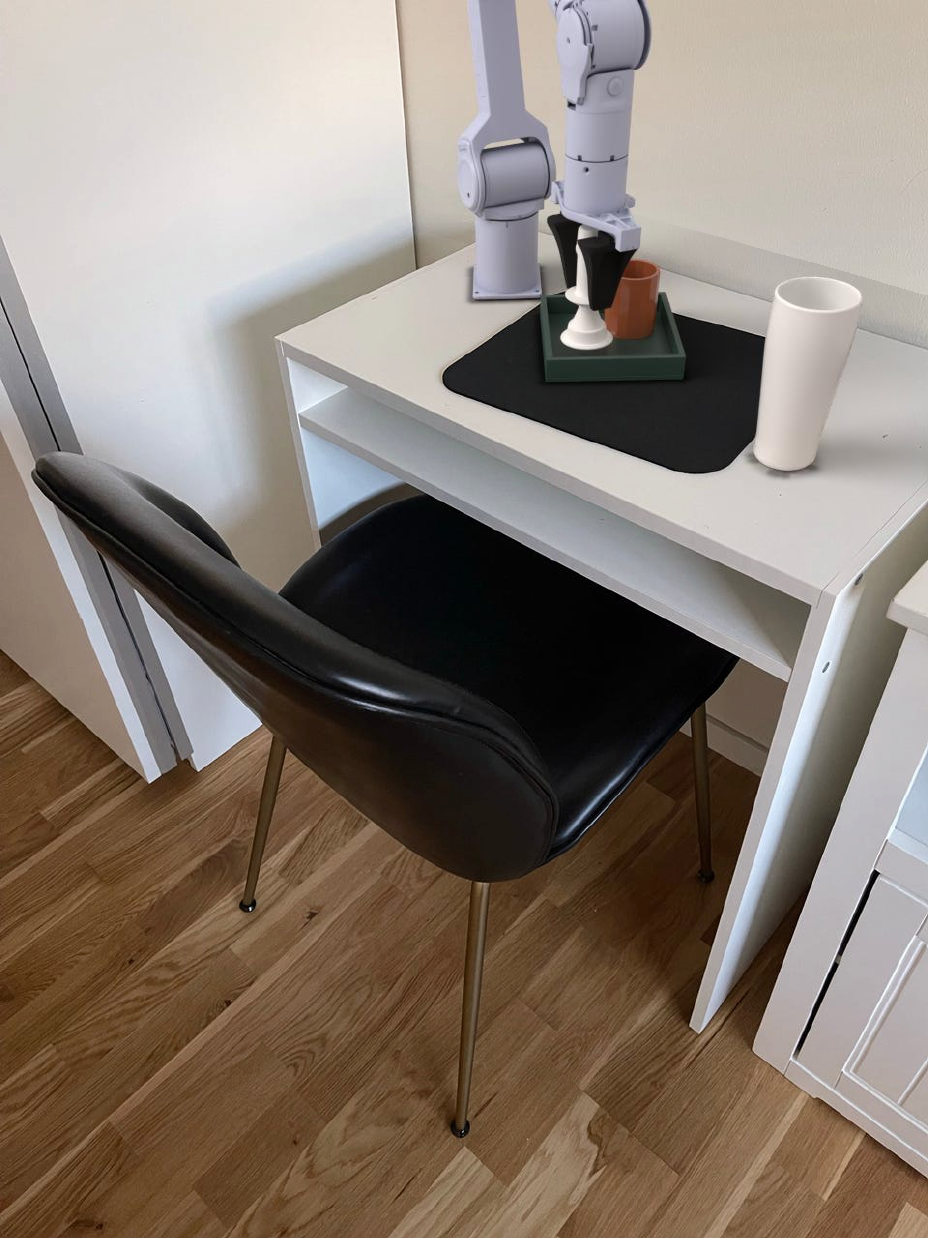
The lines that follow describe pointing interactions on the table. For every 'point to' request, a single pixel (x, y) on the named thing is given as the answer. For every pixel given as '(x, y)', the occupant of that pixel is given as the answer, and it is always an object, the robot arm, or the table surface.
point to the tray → (610, 348)
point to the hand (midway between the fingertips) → (588, 297)
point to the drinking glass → (803, 367)
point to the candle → (584, 309)
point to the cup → (634, 301)
